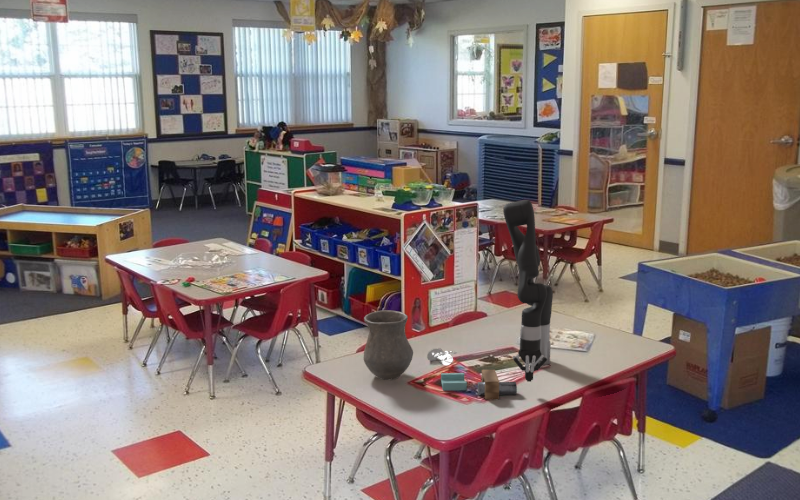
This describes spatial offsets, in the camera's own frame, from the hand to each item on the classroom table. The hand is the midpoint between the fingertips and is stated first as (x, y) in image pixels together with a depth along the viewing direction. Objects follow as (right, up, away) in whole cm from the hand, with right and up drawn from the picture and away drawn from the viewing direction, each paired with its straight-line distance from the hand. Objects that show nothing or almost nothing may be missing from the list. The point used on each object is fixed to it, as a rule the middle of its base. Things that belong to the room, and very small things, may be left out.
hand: (528, 380), depth 289 cm
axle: (-12, -5, +1) cm, 13 cm away
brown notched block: (-14, -5, +2) cm, 15 cm away
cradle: (-27, -3, +10) cm, 29 cm away
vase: (-53, -2, +19) cm, 56 cm away
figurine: (-31, +2, +34) cm, 46 cm away
